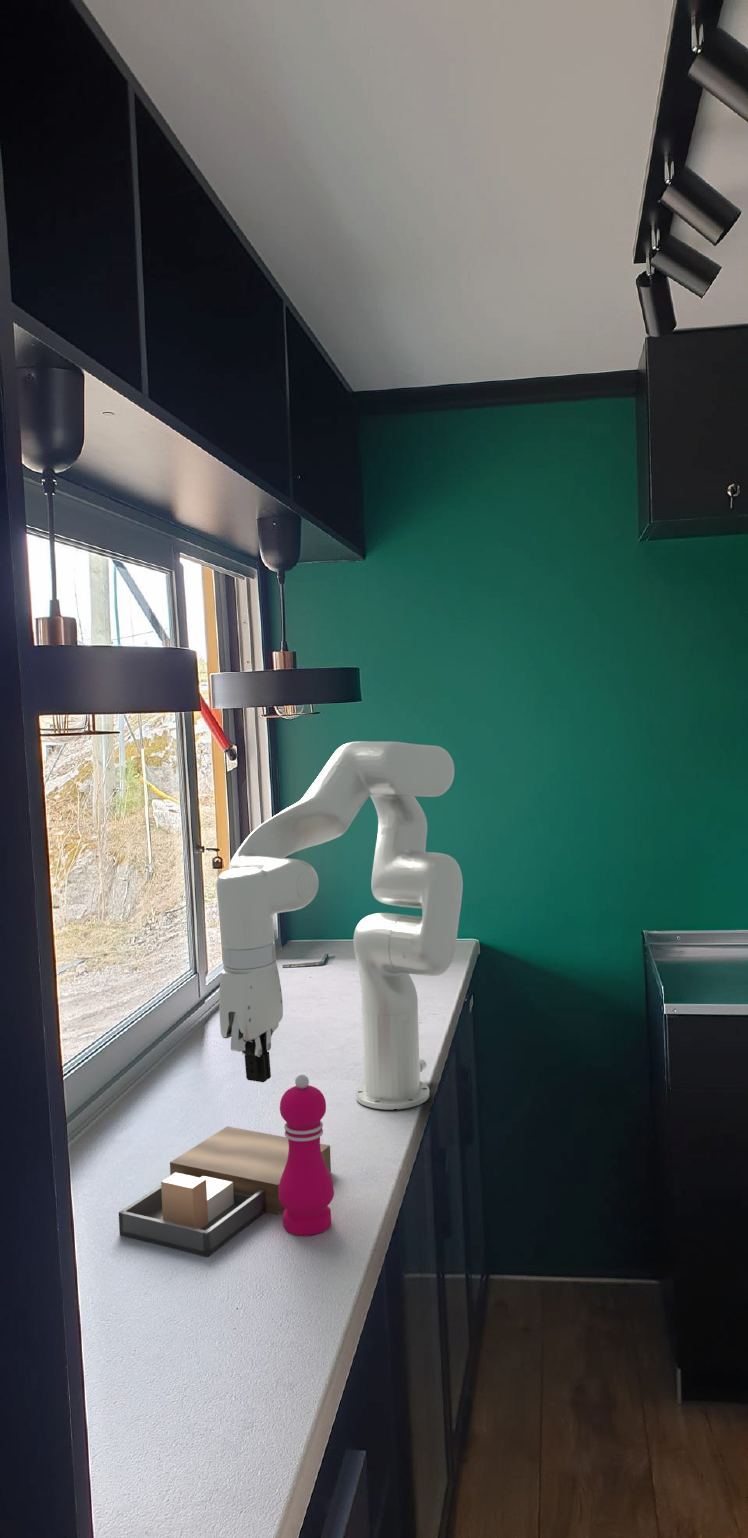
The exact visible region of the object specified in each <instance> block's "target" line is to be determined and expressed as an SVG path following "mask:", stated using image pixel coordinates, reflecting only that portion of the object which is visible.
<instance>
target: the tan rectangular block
mask: <svg viewBox="0 0 748 1538" xmlns="http://www.w3.org/2000/svg"><path fill="white" fill-rule="evenodd" d="M160 1185H161V1190H162V1212H163V1220H164V1221H168V1222H172V1223H176V1224H180V1225H184V1226H189V1227H193V1228H197V1229H202V1228H203V1227H204V1226H206V1225H207V1224H208V1208H207V1186H206V1179H204V1178H199V1177H194V1176H190V1175H185V1174H180V1173H176V1172H175V1173H174V1174H172V1175H171V1176H170V1175H169V1176H168V1177H166V1178H164V1179H163V1180H161V1181H160Z"/></svg>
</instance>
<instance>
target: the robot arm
mask: <svg viewBox="0 0 748 1538" xmlns="http://www.w3.org/2000/svg"><path fill="white" fill-rule="evenodd" d="M455 771H456V770H455V764H454V759H453V758H452V756H451V755H450V753H449V751H447V750H446V749H445V748H444V747H441V746H439V745H431V744H417V743H410V742H409V743H408V742H402V741H351V742H347V743H345V744H342V745H341V746H339V747H338V748H337V749H336V750H335V751H334V753H333V754H332V755H331V757H330V758H329V760H328V761H327V762H326V764H325V765H324V767H323V768H322V770H321V771H320V773H319V774H318V776H317V777H316V779H315V780H314V781H313V782H312V784H311V785H310V787H309V788H308V790H307V791H306V792H305V794H304V795H303V797H302V798H301V799H300V800H299V801H297V802H296V803H294V804H292V805H290V806H289V807H286V808H285V809H283V810H281V811H280V812H279V813H277V814H275V815H274V816H272V817H271V818H269V819H267V820H266V821H264V822H263V823H261V824H259V826H257V827H255V829H254V830H253V831H252V832H251V833H250V834H249V835H248V836H247V837H246V838H245V840H244V841H243V842H242V843H241V845H240V847H239V848H238V849H237V851H236V852H235V853H234V855H233V857H232V858H231V860H230V862H229V863H228V867H227V869H226V871H225V870H224V871H223V872H221V873H220V874H219V876H218V877H217V880H216V896H217V906H218V917H219V929H220V930H219V931H220V943H221V945H220V946H221V955H222V966H223V970H221V974H220V981H219V993H218V994H219V995H218V997H219V998H218V1001H219V1003H218V1004H219V1006H218V1007H219V1008H218V1009H219V1012H218V1013H219V1027H220V1028H219V1029H220V1035H221V1038H223V1039H230V1050H231V1051H233V1052H238V1053H240V1052H241V1054H242V1055H243V1056H244V1064H245V1065H244V1066H245V1078H246V1080H248V1081H251V1082H258V1083H265V1082H266V1081H268V1080H270V1078H271V1077H272V1074H271V1073H272V1072H271V1071H272V1070H271V1060H270V1051H271V1048H272V1036H273V1033H275V1031H276V1030H277V1029H278V1027H279V1025H280V1024H279V1023H280V1022H282V1020H283V1015H284V1005H283V992H282V984H281V979H280V973H279V969H278V964H277V958H276V955H277V953H276V942H275V931H274V930H275V929H274V927H275V926H274V919H273V916H274V915H275V914H280V913H286V912H287V913H288V912H293V911H297V910H300V909H304V908H305V907H306V906H308V905H310V903H311V902H312V901H313V900H314V899H315V897H316V896H317V893H318V891H319V884H320V883H319V877H318V873H317V872H316V870H315V868H314V867H313V866H312V865H311V864H310V863H309V862H306V861H304V860H302V859H296V858H289V857H288V856H290V855H293V854H294V853H296V852H299V851H302V850H304V849H308V848H310V847H315V846H318V845H321V844H324V843H328V842H330V841H332V840H335V839H337V838H339V837H341V836H343V835H344V834H345V833H346V831H348V829H349V827H350V826H351V824H352V822H353V821H354V820H355V818H356V816H357V815H358V813H359V812H360V811H361V808H362V807H363V805H364V804H365V802H367V800H368V798H369V797H370V799H371V800H372V802H373V805H374V807H375V810H376V815H377V821H378V822H377V823H378V824H377V837H376V842H375V848H374V849H375V850H374V857H373V864H372V873H371V880H370V881H371V883H370V885H371V893H372V896H373V898H374V899H375V900H376V901H377V902H380V903H382V904H385V905H389V906H393V907H394V906H396V907H403V908H413V909H421V910H422V912H421V913H422V916H418V915H410V914H409V915H408V914H402V913H401V914H400V913H391V912H377V913H372V914H368V915H366V916H364V917H363V918H362V919H361V920H360V921H359V922H358V923H357V925H356V927H355V929H354V932H353V940H352V941H353V950H354V951H353V952H354V956H355V960H356V964H357V969H358V973H359V980H360V981H359V982H360V994H361V996H360V998H361V1019H362V1020H361V1024H362V1025H361V1026H362V1053H363V1055H362V1056H363V1057H362V1058H363V1082H364V1083H362V1084H360V1085H359V1086H358V1087H357V1088H356V1090H355V1099H356V1102H358V1103H359V1104H361V1106H362V1105H363V1106H365V1107H368V1108H370V1109H371V1108H372V1109H375V1110H385V1111H390V1110H392V1111H393V1110H394V1109H397V1110H404V1109H410V1108H415V1107H417V1106H419V1105H422V1104H423V1103H425V1102H426V1101H428V1099H429V1098H430V1088H429V1086H428V1085H427V1084H425V1083H424V1082H422V1081H421V1078H420V1077H421V1073H422V1072H423V1071H424V1070H426V1068H427V1062H426V1061H425V1059H422V1058H420V1040H419V1037H420V1036H419V1035H420V1034H419V1006H418V1004H419V1003H418V1002H419V1001H418V999H419V998H418V993H417V990H416V986H415V982H414V981H413V979H412V977H411V975H418V976H425V977H426V976H427V977H428V976H429V977H438V976H441V975H443V974H445V973H446V972H448V970H449V968H450V967H451V965H452V962H453V960H454V957H455V951H456V948H457V947H456V946H457V938H458V933H459V923H460V914H461V909H462V908H461V907H462V900H463V889H464V888H463V887H464V882H463V874H462V870H461V867H460V865H459V863H458V862H457V860H456V859H455V858H454V857H452V856H451V855H449V854H447V853H446V854H445V853H443V852H442V853H441V852H432V851H430V852H429V851H427V850H426V847H427V835H428V822H427V821H428V820H427V817H426V814H425V811H424V810H423V808H422V806H421V804H420V803H419V802H418V800H417V798H416V797H427V798H429V797H431V798H435V797H436V798H437V797H440V796H442V795H444V794H445V793H446V792H447V791H448V790H449V789H450V788H451V786H452V784H453V782H454V779H455Z"/></svg>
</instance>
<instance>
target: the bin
mask: <svg viewBox="0 0 748 1538" xmlns="http://www.w3.org/2000/svg"><path fill="white" fill-rule="evenodd" d="M180 1174H184V1173H181V1172H180ZM233 1194H234V1204H233V1205H231V1206H230V1207H229V1208H227V1209H226V1210H225V1211H223V1212H222V1213H221V1214H219V1215H218V1216H217V1217H215V1218H214V1219H212V1220H211V1221H210V1222H208V1224H207V1225H206V1226H204V1227H203V1228H202V1229H197V1228H193V1227H189V1226H184V1225H180V1224H176V1223H172V1222H168V1221H164V1220H163V1212H162V1190H161V1184H160V1185H158V1186H157V1187H155V1188H154V1189H153V1190H151V1191H149V1192H148V1193H147V1194H145V1195H143V1196H142V1197H140V1198H138V1199H137V1200H136V1201H134V1202H132V1203H131V1204H129V1205H128V1206H126V1207H125V1208H122V1210H120V1211H118V1227H119V1235H120V1236H124V1237H125V1238H126V1237H127V1238H131V1239H134V1240H139V1241H142V1242H147V1243H150V1244H154V1245H159V1246H162V1247H166V1248H171V1249H175V1250H178V1251H182V1252H187V1253H191V1254H195V1255H198V1256H202V1257H206V1258H209V1257H210V1256H211V1255H213V1254H214V1253H216V1251H218V1250H219V1249H220V1248H221V1247H223V1246H224V1245H225V1244H227V1243H228V1242H229V1241H230V1240H232V1239H233V1238H234V1237H236V1236H237V1235H238V1234H239V1233H241V1232H242V1231H243V1230H245V1229H246V1228H247V1227H248V1226H249V1225H251V1224H252V1223H254V1221H256V1220H257V1219H258V1218H260V1217H261V1216H262V1215H264V1214H265V1213H266V1211H265V1192H264V1190H259V1191H258V1192H257V1193H255V1194H254V1195H250V1194H246V1193H241V1192H237V1191H233Z"/></svg>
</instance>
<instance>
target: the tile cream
mask: <svg viewBox="0 0 748 1538" xmlns="http://www.w3.org/2000/svg"><path fill="white" fill-rule="evenodd" d="M200 1178H204V1179H206V1186H207V1208H208V1222H210V1221H211V1220H212V1219H214V1218H215V1217H217V1216H218V1215H219V1214H221V1213H222V1212H223V1211H225V1210H226V1209H227V1208H229V1207H230V1206H231V1205H233V1204H234V1194H233V1182H230V1181H225V1180H220V1179H216V1178H211V1177H206V1176H202V1177H200Z"/></svg>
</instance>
